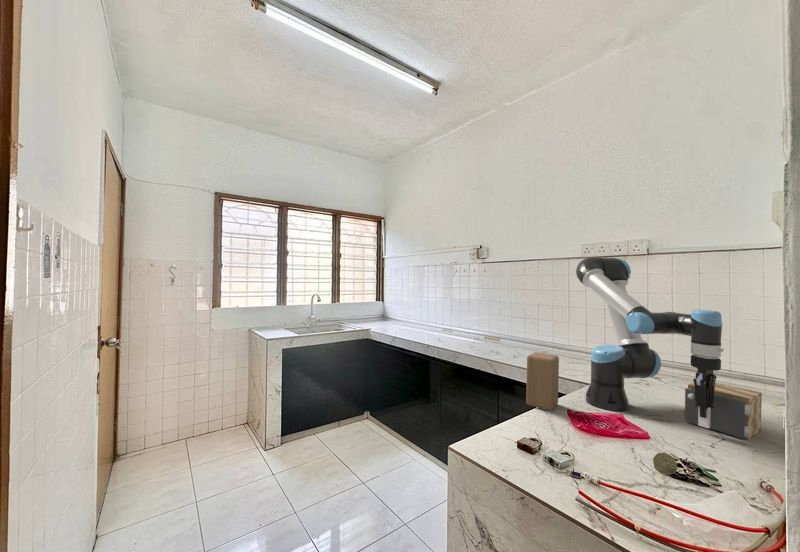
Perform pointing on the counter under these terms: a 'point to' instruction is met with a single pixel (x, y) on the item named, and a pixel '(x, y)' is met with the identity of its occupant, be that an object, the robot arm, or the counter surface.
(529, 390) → the wooden block
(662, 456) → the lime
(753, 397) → the box
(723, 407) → the door
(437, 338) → the counter surface
